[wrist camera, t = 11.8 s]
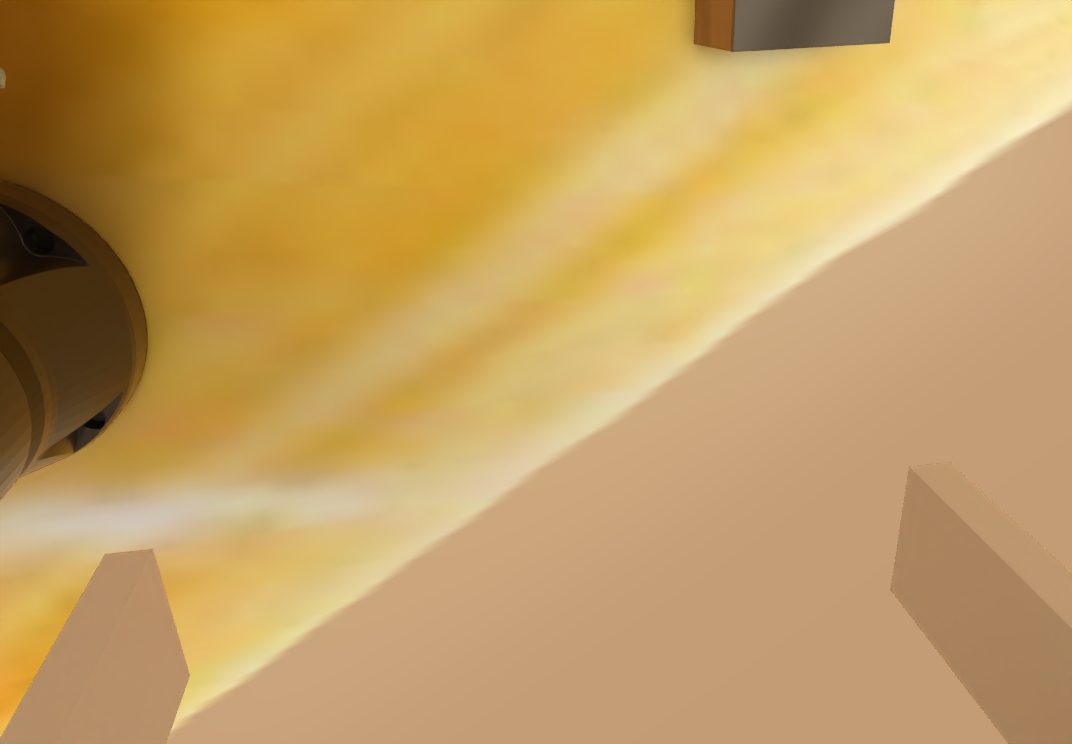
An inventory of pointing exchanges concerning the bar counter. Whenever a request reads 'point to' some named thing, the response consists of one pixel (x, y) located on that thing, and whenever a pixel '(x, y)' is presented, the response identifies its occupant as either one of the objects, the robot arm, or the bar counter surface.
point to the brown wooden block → (791, 23)
